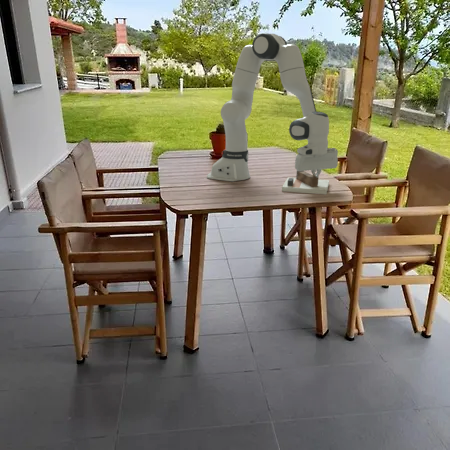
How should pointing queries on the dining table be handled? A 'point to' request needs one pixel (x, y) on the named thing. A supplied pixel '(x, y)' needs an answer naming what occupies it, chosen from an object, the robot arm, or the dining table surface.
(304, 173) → the stool leg
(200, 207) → the dining table surface
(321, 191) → the board
